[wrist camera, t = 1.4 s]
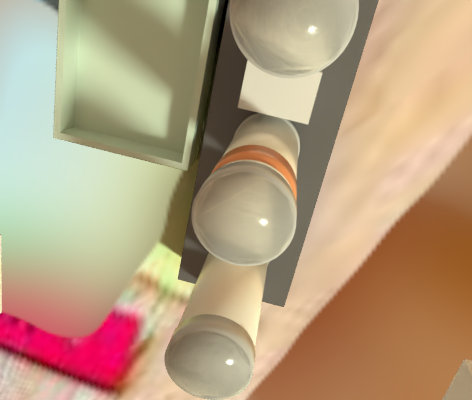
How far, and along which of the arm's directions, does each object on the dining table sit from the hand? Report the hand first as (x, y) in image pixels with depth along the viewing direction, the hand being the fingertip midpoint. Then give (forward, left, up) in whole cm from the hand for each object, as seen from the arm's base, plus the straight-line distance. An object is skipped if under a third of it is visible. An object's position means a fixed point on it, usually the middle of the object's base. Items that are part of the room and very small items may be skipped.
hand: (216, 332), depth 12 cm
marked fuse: (0, 0, -20) cm, 20 cm away
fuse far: (0, -8, -20) cm, 22 cm away
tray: (-11, +3, -23) cm, 26 cm away
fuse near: (0, +9, -20) cm, 22 cm away
